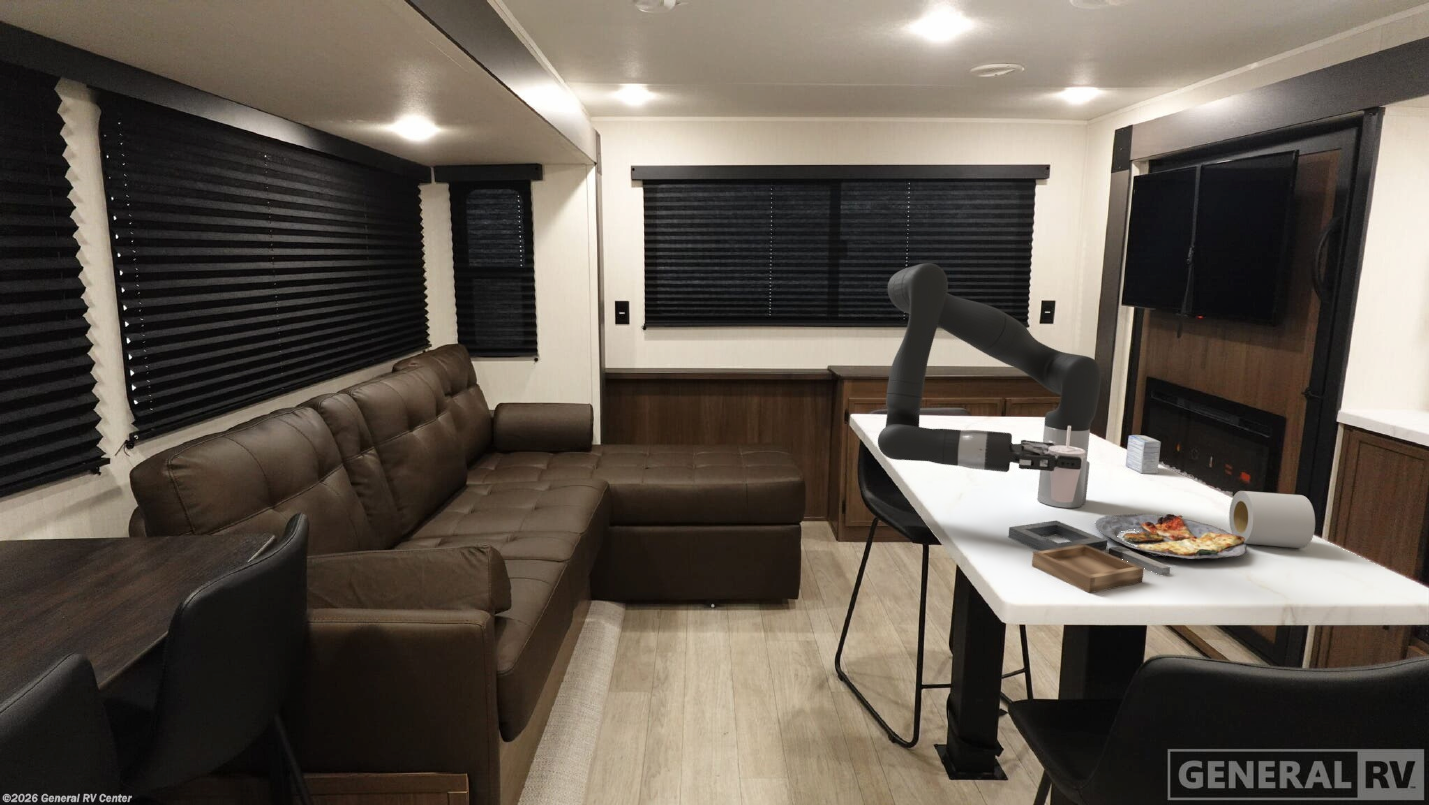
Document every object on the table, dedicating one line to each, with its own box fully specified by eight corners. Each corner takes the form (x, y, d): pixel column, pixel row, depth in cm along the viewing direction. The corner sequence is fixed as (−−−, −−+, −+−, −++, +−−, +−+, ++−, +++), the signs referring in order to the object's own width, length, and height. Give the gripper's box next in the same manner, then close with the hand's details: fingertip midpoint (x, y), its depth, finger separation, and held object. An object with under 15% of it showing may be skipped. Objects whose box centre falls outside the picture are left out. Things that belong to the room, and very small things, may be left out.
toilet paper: (1283, 538, 150) (1291, 489, 148) (1310, 556, 140) (1318, 504, 138) (1226, 533, 152) (1233, 484, 150) (1248, 550, 142) (1256, 499, 141)
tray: (1082, 557, 137) (1084, 544, 137) (1142, 582, 126) (1143, 568, 126) (1031, 566, 133) (1033, 552, 132) (1088, 592, 122) (1090, 578, 121)
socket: (1055, 530, 152) (1056, 520, 151) (1106, 550, 141) (1107, 540, 140) (1008, 537, 147) (1009, 527, 147) (1057, 558, 136) (1058, 548, 136)
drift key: (1108, 555, 139) (1108, 547, 139) (1119, 553, 140) (1120, 545, 140) (1159, 577, 129) (1160, 568, 129) (1171, 574, 130) (1172, 566, 130)
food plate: (1179, 520, 159) (1180, 504, 158) (1278, 563, 136) (1280, 544, 136) (1070, 528, 155) (1071, 511, 154) (1154, 574, 132) (1156, 555, 132)
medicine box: (1157, 474, 197) (1161, 441, 195) (1140, 474, 197) (1144, 441, 195) (1141, 466, 204) (1145, 435, 203) (1124, 466, 205) (1128, 434, 203)
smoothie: (1083, 498, 144) (1090, 425, 141) (1078, 507, 138) (1085, 431, 136) (1046, 492, 147) (1053, 421, 144) (1040, 500, 142) (1047, 427, 139)
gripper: (983, 439, 139) (1084, 447, 133) (987, 424, 152) (1080, 431, 146) (980, 478, 141) (1080, 489, 134) (985, 460, 154) (1076, 469, 147)
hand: (1079, 459), depth 140 cm, fingers closed on smoothie, 6 cm apart
